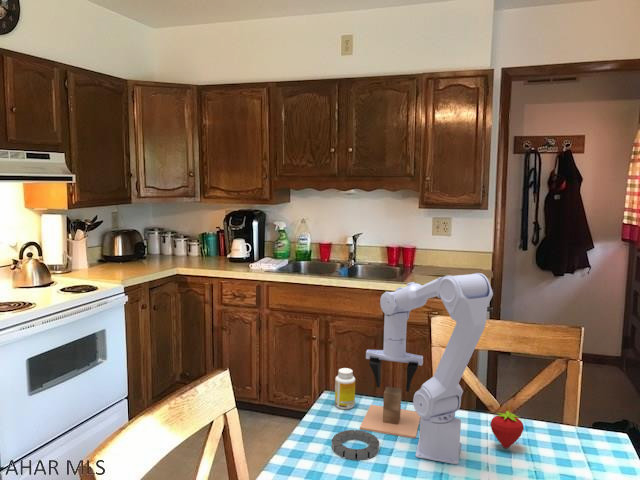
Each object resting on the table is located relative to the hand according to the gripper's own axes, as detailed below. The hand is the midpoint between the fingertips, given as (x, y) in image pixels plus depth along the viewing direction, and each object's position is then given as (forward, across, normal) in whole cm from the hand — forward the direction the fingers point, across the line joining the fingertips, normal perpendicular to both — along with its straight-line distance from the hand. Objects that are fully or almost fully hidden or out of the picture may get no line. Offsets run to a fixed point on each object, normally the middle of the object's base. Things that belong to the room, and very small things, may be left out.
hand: (393, 388), depth 133 cm
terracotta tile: (+9, 0, 0) cm, 9 cm away
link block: (+9, 0, 0) cm, 9 cm away
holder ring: (+9, +6, +16) cm, 19 cm away
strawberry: (+9, -28, +4) cm, 30 cm away
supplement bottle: (+9, +14, -5) cm, 18 cm away
